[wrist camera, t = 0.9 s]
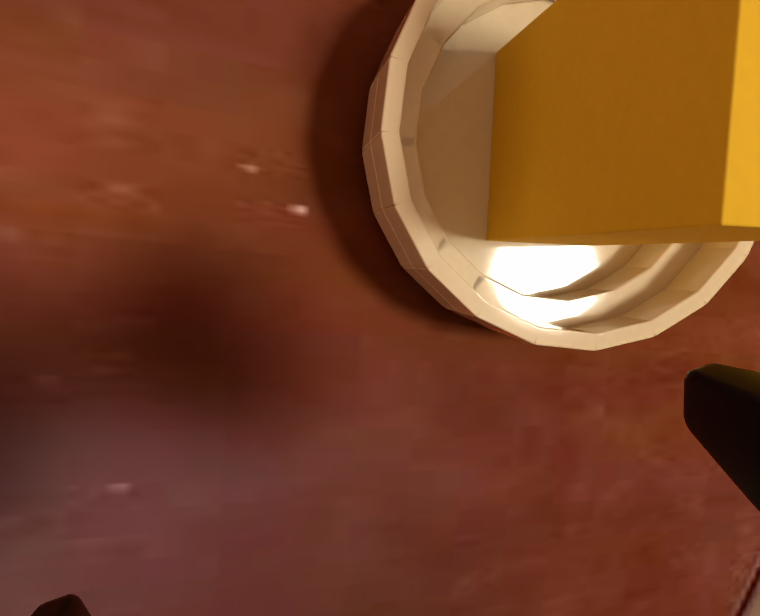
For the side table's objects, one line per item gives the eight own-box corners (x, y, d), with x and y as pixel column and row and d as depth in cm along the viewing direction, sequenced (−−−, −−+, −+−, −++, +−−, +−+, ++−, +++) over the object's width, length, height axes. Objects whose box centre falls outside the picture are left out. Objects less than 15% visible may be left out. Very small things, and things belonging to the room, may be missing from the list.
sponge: (593, 245, 24) (916, 236, 12) (485, 240, 23) (721, 225, 11) (605, 64, 23) (957, -133, 11) (495, 51, 22) (754, -176, 11)
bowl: (749, 228, 25) (838, 223, 22) (469, 398, 24) (510, 427, 20) (614, -99, 23) (686, -171, 19) (291, 64, 21) (297, 21, 17)
